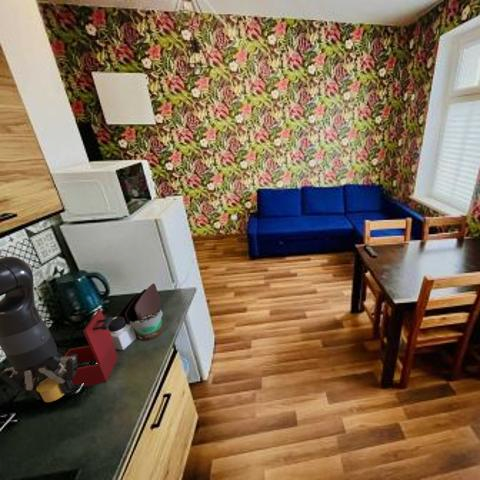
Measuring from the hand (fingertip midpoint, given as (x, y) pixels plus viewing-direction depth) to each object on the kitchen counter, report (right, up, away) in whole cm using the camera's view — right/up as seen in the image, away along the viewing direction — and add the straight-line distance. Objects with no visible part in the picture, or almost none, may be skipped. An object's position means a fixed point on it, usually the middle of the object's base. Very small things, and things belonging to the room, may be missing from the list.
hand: (55, 393), depth 67 cm
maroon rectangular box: (-18, -11, +31) cm, 37 cm away
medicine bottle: (-16, -5, +45) cm, 48 cm away
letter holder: (-18, +1, +60) cm, 63 cm away
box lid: (-11, +5, +27) cm, 29 cm away
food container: (-6, -3, +49) cm, 50 cm away
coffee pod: (0, 0, 0) cm, 0 cm away
